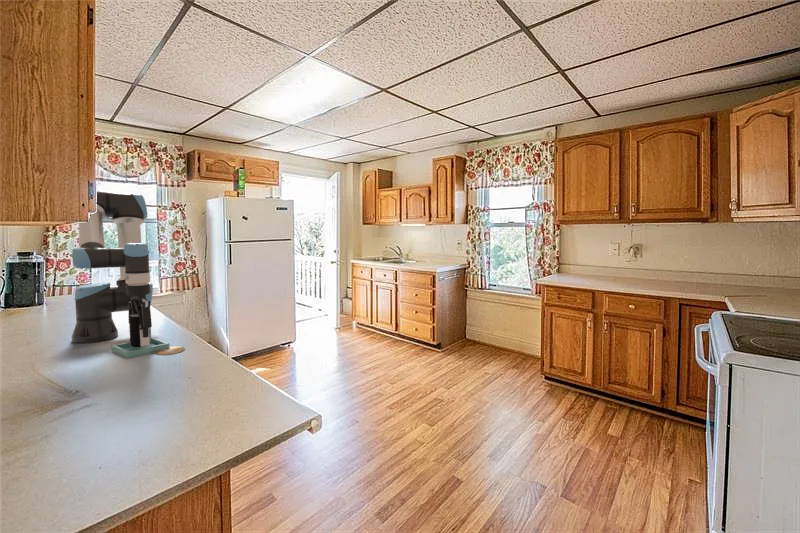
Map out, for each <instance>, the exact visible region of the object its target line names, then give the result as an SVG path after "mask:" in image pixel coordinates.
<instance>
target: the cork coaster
mask: <svg viewBox="0 0 800 533" xmlns="http://www.w3.org/2000/svg"><path fill="white" fill-rule="evenodd" d="M183 350H184V351H185V347H184V346H179V345H178V346H170V348H167V349H162V350H158V351H156V352H155V353H156V354H157V355H160V356H168V355H175V354H179V353H182V352H183Z"/></svg>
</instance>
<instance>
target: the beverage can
mask: <svg viewBox="0 0 800 533" xmlns="http://www.w3.org/2000/svg"><path fill="white" fill-rule="evenodd" d="M130 316H131V317H130V318H129V317H128V325H129V342H130V345H131V346H132V347H141V345H140V330H139V328H141V326H140V320H139V315H138V314H131V315H130ZM151 338H152V327H150V328H149V343H151ZM142 347H143V346H142Z"/></svg>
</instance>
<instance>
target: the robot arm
mask: <svg viewBox="0 0 800 533" xmlns="http://www.w3.org/2000/svg"><path fill="white" fill-rule="evenodd" d="M96 191H97V212H96V213H94V214H92V215H91V216H90V218H89V221H88V222H87V223H79V222H78V237H79V238H78V240H79V243H78V244H79V245H78V246H79V247H77V248H73V249H72V252H71V253H72V255H71V256H72V257H71V258H72V266H73V268H75V269H88V270H89V269H104V268H105V269H106V268H107V269H108V268H119V278H118V279H117V280H115V282H116V283H115V284H111V283H110V281H105V282H96V283H90V284H85V285H82V286H79V287H77V288H75V291H74V303H75V320H76V323H75V324H74V328H73V331H72V334H71V342H72V343H76V344H87V343H89V344H90V343H97V342H102V341H103V342H104V341H108V340H111V339H115V338H117V337H118V336H119V330H118V328H117V326H116V324H115V322H114V319H113V316H112V314H113V313H115V312H116V313H117V312H118V313H119V312H127V311H128V319H129V318H130V317H131V316H130V315H131V314H138V315H139V320H140V326H141V328H139V330H140V345H141V347H142V346H147V345H150V343H149V328H150V327H151V328H152V325H153V324H152V314H151V304H152V299H153V290H154V286H153V283H152V282H151V274H150V251H149V245H148V244H147V243H145V242H144V243H142V232H141V230H142V229H141V226H142V225H143V223H145V220H146V219H148V208H147V204H146V200H145V197H144V196H143V195H142V194H140V193H135V192H124V191H108V190H96ZM105 218H111V220H112V223H113V224H115V225H116V227H117V228H116V229H117V230H116V232H117V243H118V244H117V245H118V247H105V246H106V245H105V234H104V222H103V220H104V219H105Z"/></svg>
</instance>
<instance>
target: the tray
mask: <svg viewBox="0 0 800 533" xmlns="http://www.w3.org/2000/svg"><path fill="white" fill-rule="evenodd" d="M170 347H171V346H170V343H169V342H167V341H165V340H162V339H158V338H155V337H151V343H150V345H147V346H143V347H132V346H131V345H130V341H129V342H123V343H118V344H113V345H111V352H112V353H114V354H116V355H118V356H121V357H122V358H125V359H131V358H137V357H141V356H145V355H149V354H150V355H151V354H153V353H156V351H158V350H162V349H167V348H170Z"/></svg>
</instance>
